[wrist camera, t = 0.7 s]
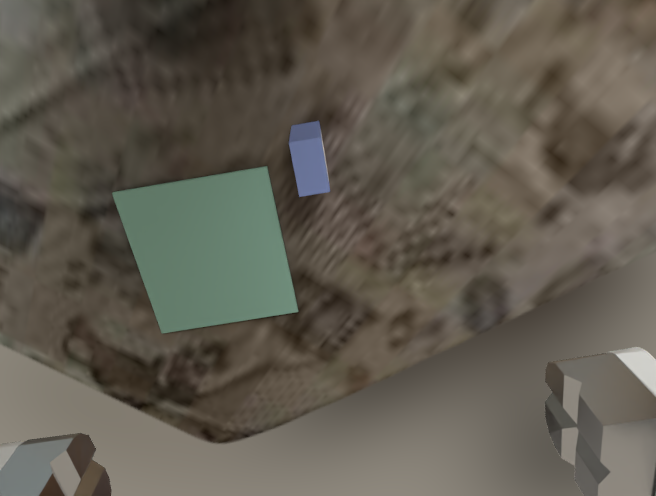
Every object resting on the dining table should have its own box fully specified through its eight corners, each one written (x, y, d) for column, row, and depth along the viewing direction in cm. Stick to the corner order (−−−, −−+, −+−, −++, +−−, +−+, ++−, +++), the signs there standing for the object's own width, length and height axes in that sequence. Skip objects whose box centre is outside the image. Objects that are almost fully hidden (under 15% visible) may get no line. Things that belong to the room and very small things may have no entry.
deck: (291, 125, 42) (288, 142, 36) (319, 120, 42) (321, 137, 36) (300, 172, 44) (299, 196, 38) (327, 168, 44) (330, 191, 37)
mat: (113, 191, 44) (111, 193, 44) (267, 165, 44) (266, 167, 43) (162, 331, 50) (161, 333, 50) (298, 309, 50) (298, 311, 49)
